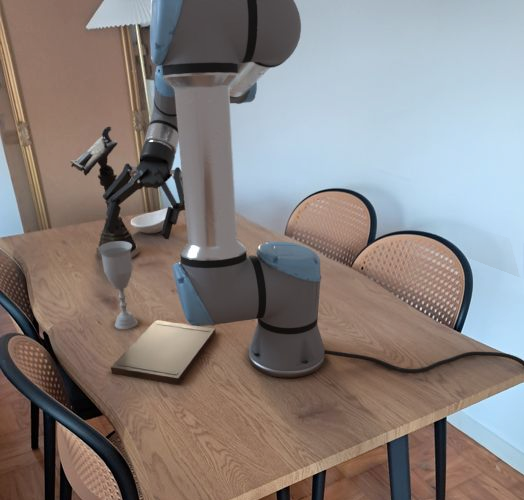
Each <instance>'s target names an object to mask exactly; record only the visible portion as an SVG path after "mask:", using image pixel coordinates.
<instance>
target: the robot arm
mask: <svg viewBox="0 0 524 500" xmlns="http://www.w3.org/2000/svg"><path fill="white" fill-rule="evenodd" d="M300 15H301V14H300V12H299V8H298V6H297V4H296V2H295V0H151V1H150V15H149V16H150V18H149V19H150V20H149V47H150V59H151V62H152V64H154V65H156V67H155V71H154V78H153V87H154V89H153V91H154V92H153V93H154V94H153V104H152V105H153V107H152V112H151V116H150V119H149V120H150V121H149V124H148V127H147V130H146V133H145V137H144V140H143V145H142V147H141V148H142V149H141V152H140V155H139V163H138V164H137V166H132V165H131V164H129V163H125V164H124V167H123V168H122V171H121V172H120V174H119V175H117V177H116V180H115V181H114V182H113V184H112V185H111V186H110V187H109V188H108V190H107V191H106V192H105V191H104V193H103V195H102V198H103V200H104V201H107V202H108V203H109V205H108V208H107V210H106V217H107V216H108V220H107V223H106V227H105V228H106V229H107V230H108V231H109V232H110V233H112V234H114V231H115V227H116V223H117V220H118V216H120V212H121V208H122V207H121V206H120V205H122V203H124V202H125V201H126V200H127V199H128V198H130V197H131V196H132V195H133V194H135V193H136V192H137V191H138V190H142V189H143V188H147V189H150V188H153V189H157V190H158V188H160V187H161V189H162V191H163V192H164V194H165V196H166V198H167V199H168V201H169V203H170V205H171V206H172V207H171V206H167V208H168V209H167V213H166V217H165V221H164V224H163V228H162V230H161V231H160V234H161V236H162V237H163V238H164V239H165V240H167V241H168V240H170V236H171V232H172V228H173V226H176V225H177V223H178V219H179V215H180V213H181V212H183V211H184V214H185V215H184V216H185V225H186V236H187V242H186V244H185V245H184V246H183V247H182V248H181V249H180V251H179V256H180V257H179V258H180V261H177V262H176V263H173V264H172V273H173V278H174V283H175V287H176V291H177V294H178V298H179V302H180V305H181V308H182V311H183V314H184V317H185V319H186V322H187V323H188V324H189V325H193V326H201V327H206V326H212V327H215V326H216V325H223V324H230V323H236V322H244V321H245V322H246V321H251V320H257V324H256V326H255V329H254V332H253V335H252V338H251V340H250V343H249V347H248V362H249V363H250V365H251V366H252V367H253V368H254V369H255V370H256V371H258V372H260V373H262V374H265V375H267V376H271V377H273V378H274V377H275V378H281V379H292V378H303V377H306V376H309V375H311V374H314V373H315V372H317V371H318V370H320V369H321V368H322V367H323V365H324V362H325V358H326V357H325V356H326V355H329V356H334V357H335V356H336V357H344V358H350V359H357V360H364V361H368V362H372V363H376V364H378V365H381V366H383V367H386V368H388V369H390V370H393V371H396V372H400V373H405V374H419V373H420V374H421V373H424V372H425V373H426V372H428V371H431V370H433V369H435V368H437V367H440V366H442V365H445V364H449V363H450V364H451V363H452V362H455V361H458V360H461V359H463V358H467V357H472V356H473V357H474V356H476V357H477V356H481V357H482V356H483V357H500V358H505V359H510V360H513V361H515V362H517V363H518V364H521V365H522V366H523V367H524V359H522V358H520V357H518V356H516V355H514V354H510V353H506V352H496V351H467V352H464V353H461V354H457V355H454V356H452V357H448V358H446V359H442V360H439V361H437V362H434V363H432V364H430V365H427V366H423V367H419V368H406V367H405V368H404V367H399V366H396V365H394V364H391V363H388V362H386V361H384V360H381V359H379V358H375V357H372V356H367V355H364V354H363V355H362V354H356V353H348V352H341V351H336V350H329V349H325V346H324V342H323V338H322V335H321V332H320V329H319V325H318V319H319V318H318V317H319V307H320V306H319V304H320V291H321V290H320V289H321V280H322V275H321V259H320V256H319V255H318V254H317V253H316V252H315V251H314V250H312V249H311V248H309V247H307V246H305V245H301V244H298V243H294V242H289V241H276V240H275V241H273V240H271V241H265V242H264V243H261V244H259V245H258V247H257V249H256V252H255V253H256V254H254V255H253V254H252V255H247V247H246V246H245V245H244V244H243V243H242V242H241V241H240V240H238V232H237V231H238V229H237V228H238V227H237V211H236V209H237V208H236V192H235V191H236V189H235V175H234V174H235V173H234V158H233V157H234V154H233V138H232V137H233V135H232V117H231V115H232V114H231V104H237V105H241V104H247V103H252V102H253V101H254V100H255V98H256V94H257V91H258V81H259V80H260V79H261V78H262V77H263V76H265V74H266V73H267V72H268V71H269V70H270V69H272V68H276V67H279V66H281V65H282V64H284V63H285V62H286V61H287V60H288V59H289V58H291V56H292V55H293V54H294V52H295V50H296V49H297V47H298V45H299V41H300V39H301V33H302V22H301V21H302V20H301V16H300ZM178 147H179V156H180V157H179V158H180V167H179V166H176V167H175V168H174V169H173V166H174V162H175V159H176V154H177V151H178ZM171 177H172V179H173V180H174V184H175V188H176V193H177V196H178V200H179V202H177V200H176V198H175V196H174V195H173V193H172V191H171V189H170V187H169V186H168V184H167V182H168V181H169V180H170V178H171ZM138 181H139V182H138Z"/></svg>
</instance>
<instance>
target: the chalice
mask: <svg viewBox="0 0 524 500" xmlns="http://www.w3.org/2000/svg"><path fill="white" fill-rule="evenodd" d="M98 247H99V246H98ZM98 247H97V248H98ZM131 248H132V244H131V243H128V242H124V241H115V242H109V243H105V244H103V245H101V246H100V247H99V248H98V250H99V252H100V253H101V255H102V259H101V260H102V261H101V262H102V266H103V272H104V274H105V276H106V278H107V280H108V281H109V282H110V283H111V285H112V286H113V288H114V289H115V290H118V291H119V295H118V298H119V300H120V303H119V304H118V305H119V307H120V308H121V312H120V313H118V314H117V316H116V318H115V319H116V320H115V323H114V327H115V328H116V329H119V330H127V329H128V330H130V329H133V328H135V327H136V326H138V321H137V319H136V317H135V316H134V314H133V313H132V312H130V311H129V310H127V306H128V302H127V301H126V298H127V295H126V294H125V292H124V291H125V289H126V288H128V285H129V282H130V280H131V276H132V272H133V262H132V258H131V253H130V251H131Z"/></svg>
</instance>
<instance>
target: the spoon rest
mask: <svg viewBox="0 0 524 500" xmlns="http://www.w3.org/2000/svg"><path fill="white" fill-rule="evenodd" d="M170 207H172V205H171V206H170ZM167 209H168V207H165V208H163V209H159V210H156V211H152V212H148V213H142V214H140V215H137V216H135V217H133V218H132V219H131V220H130V225H131V227H133V229H135V230H136V231H138V232H141V233H144V234H157V233H161V232H162V228H163V224H164V221H165V217H166V213H167Z"/></svg>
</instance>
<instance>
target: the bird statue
mask: <svg viewBox="0 0 524 500" xmlns="http://www.w3.org/2000/svg"><path fill="white" fill-rule="evenodd" d="M111 131H112V127H111V126H105V127H104V128H103V129H102V132H101V135H102V136H101V137H100V138H99V137H98V139H97V140H96V141H95V142H94V143H93V144H92V145H91V146H90V147H89V149H88V150H86V151H85V152H84V153H83V154H82V155H80V156H79V157H78V158H77V159H76V160H74V159H70V160H69V162H70V163H71V164H70V165H71V166H70V167H71V168H73V167H74V168H75V170H78V171H80V172H83V175H84V176H85V177H86V176H87V175H88V174H89V173H90V172H91V171H92V169H93V168H94V167H95V166H96V165H97V164H98V165H99V169H98V172H99V174H98V175H97V178H98V180H99V185H100V186H101V187H103V190H104V193H105V192H106V191H107V190H108V188H109V187H110V186H111V185H112V184H113V182H114V181H115V180H116V179H117V177H118V175H117V173H115V170H114V169H113V167H112V166H111V165H110V164H108V157H109V156H110V154H111V153H112V152H113V150H114V149H115V147H117V145H118V141H117V140H112V138H111V137H110V136H109V133H110V132H111ZM104 202H105V204H106V208H107V209H108V205H109V203H108V202H107V201H106V200H104ZM107 220H108V216H107V215H106V217H105V218H104V221H105V222H104V226H103V228H102V230H101V233H100V234H99V236H100V238H99V243H98V247H96V254H97V256H98V257H99V258H100V259H101V260H102V255H101V253H100V252H99V250H98V248H99V247H100V246H101V245H103V244H105V243H109V242H115V241H124V242H128V243H131V244H132V248H131V251H130V253H131V259H132V258H134V257H135V256H137V255H138V254H139V253H140V250H139V247H138V245H137V244H136V242H135V240H134V238H133V236H132V232H131V231H130V230H129V228H128V227H126V225H125V223H124V221H123V217H122V216H121V215H119V216H118V220H117V223H116V227H115V231H114V234H112V233H110V232H109V231H108V230H107V229H106V228H105V227H106V223H107Z"/></svg>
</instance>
